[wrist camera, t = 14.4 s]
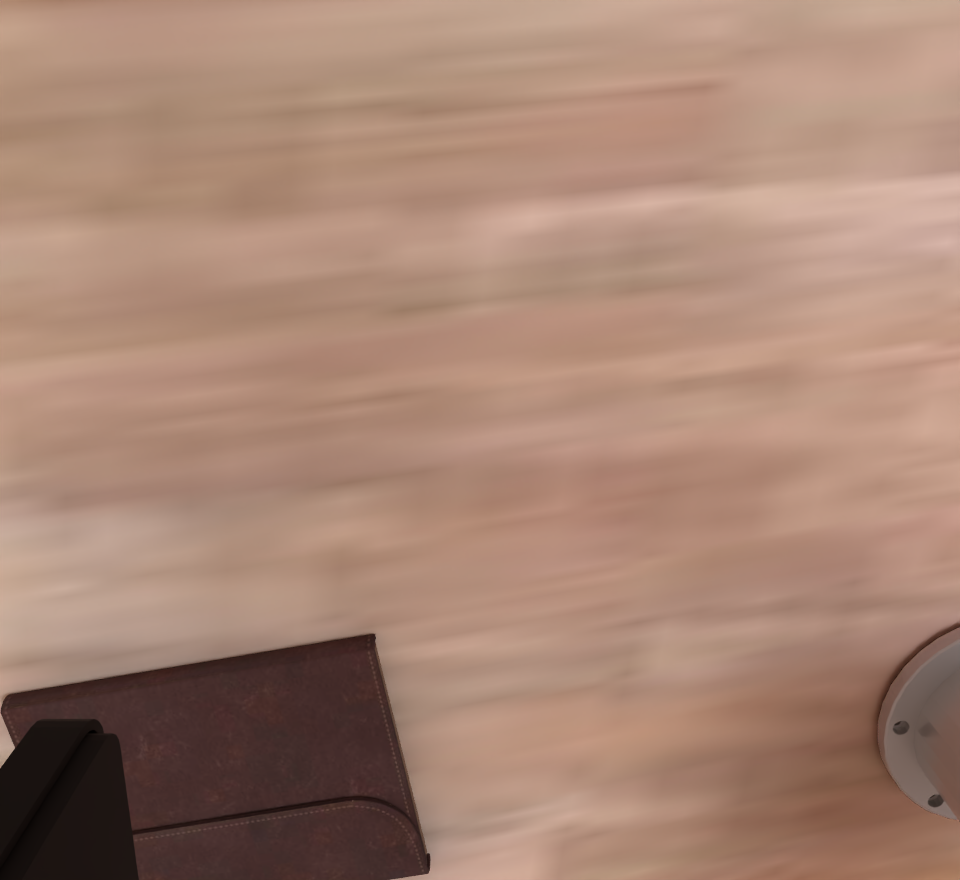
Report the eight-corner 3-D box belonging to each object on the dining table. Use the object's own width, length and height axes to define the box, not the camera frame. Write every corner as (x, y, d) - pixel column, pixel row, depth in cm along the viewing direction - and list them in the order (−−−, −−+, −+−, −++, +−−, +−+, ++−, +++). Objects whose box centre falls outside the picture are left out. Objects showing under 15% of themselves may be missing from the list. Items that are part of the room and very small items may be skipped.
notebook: (12, 688, 47) (-7, 711, 45) (375, 628, 46) (371, 648, 44) (100, 904, 51) (86, 933, 49) (430, 852, 51) (429, 879, 49)
